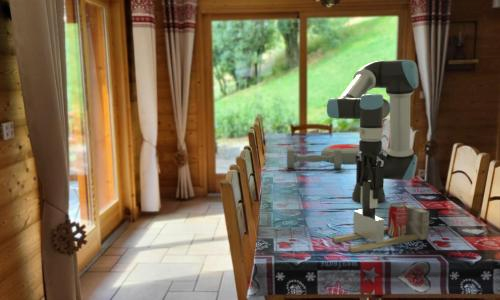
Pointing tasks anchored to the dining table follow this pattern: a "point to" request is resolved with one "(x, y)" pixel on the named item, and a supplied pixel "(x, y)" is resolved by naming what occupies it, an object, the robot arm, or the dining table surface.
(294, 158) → the dumbbell
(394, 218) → the soda can
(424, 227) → the base
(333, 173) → the dining table surface
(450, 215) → the dining table surface
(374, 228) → the vice jaw
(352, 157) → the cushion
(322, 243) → the dining table surface
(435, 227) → the dining table surface
